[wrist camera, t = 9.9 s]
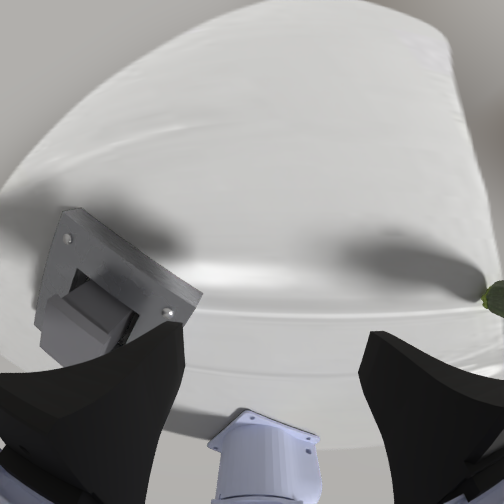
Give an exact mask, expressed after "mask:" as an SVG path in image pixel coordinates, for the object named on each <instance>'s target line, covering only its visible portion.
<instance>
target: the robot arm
mask: <svg viewBox="0 0 504 504" xmlns="http://www.w3.org/2000/svg"><path fill="white" fill-rule="evenodd" d="M184 369H185V356H184V340H183V323H182V322H173V321H166V322H164V323H162V324H160V325H158V326H157V327H155V328H153V329H152V330H150V331H148V332H147V333H145V334H143V335H141V336H140V337H138V338H136V339H135V340H133V341H131V342H129V343H127V344H125V345H123V346H121V347H119V348H117V349H115V350H113V351H111V352H109V353H107V354H105V355H102V356H100V357H97V358H94V359H92V360H89V361H86V362H83V363H79V364H75V365H72V366H68V367H64V368H60V369H54V370H48V371H41V372H31V373H0V437H1V439H2V440H3V441H4V443H5V444H6V446H5V447H4V448H3V450H1V449H0V504H145V499H146V494H147V488H148V483H149V477H150V473H151V468H152V464H153V459H154V455H155V452H156V448H157V444H158V440H159V437H160V434H161V431H162V429H163V426H164V424H165V421H166V419H167V417H168V414H169V412H170V409H171V407H172V405H173V402H174V400H175V397H176V395H177V393H178V390H179V388H180V384H181V381H182V377H183V373H184ZM358 374H359V379H360V383H361V386H362V390H363V393H364V395H365V398H366V400H367V402H368V405H369V407H370V409H371V412H372V414H373V416H374V419H375V421H376V423H377V426H378V428H379V430H380V433H381V435H382V438H383V441H384V445H385V448H386V452H387V456H388V461H389V466H390V471H391V477H392V484H393V493H394V504H504V380H499V379H493V378H488V377H484V376H480V375H476V374H473V373H470V372H467V371H464V370H461V369H458V368H456V367H453V366H451V365H448V364H446V363H444V362H442V361H440V360H438V359H436V358H434V357H432V356H430V355H428V354H426V353H424V352H422V351H421V350H419V349H417V348H415V347H414V346H412V345H410V344H408V343H406V342H405V341H403V340H401V339H399V338H397V337H396V336H394V335H392V334H390V333H387V332H385V331H370V335H369V338H368V342H367V345H366V349H365V352H364V355H363V358H362V362H361V365H360V368H359V371H358ZM251 416H253V417H251ZM319 441H320V437H319V436H316V435H313V434H310V433H307V432H304V431H301V430H298V429H295V428H292V427H290V426H287V425H284V424H281V423H279V422H276V421H274V420H271V419H269V418H266V417H264V416H261V415H259V414H257V413H254V412H252V411H249V410H246V411H244V412H242V413H241V414H240V415H239V416H238V417H237V418H236V419H235V420H234V421H233V422H232V423H230V424H229V425H228V426H227V427H226V428H225V429H224V430H223V431H221V432H220V433H219V434H218V435H217V436H216V437H214V438H213V439H212V440H211V441H210V442H209V443H208V444H207V447H209V448H210V449H213V450H215V451H218V452H220V453H221V459H220V466H219V474H218V481H217V489H216V497H215V499H212V500H211V504H317V502H318V501H319V498H320V496H321V492H322V480H321V474H320V469H319V463H318V458H317V453H316V447H315V444H316V443H318V442H319Z"/></svg>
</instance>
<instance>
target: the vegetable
mask: <svg viewBox="0 0 504 504" xmlns="http://www.w3.org/2000/svg"><path fill="white" fill-rule="evenodd" d="M481 300H482V301H483V304H482V305H483V306H484V307H485V308H486V309H489V310H490V311H491V312H492V313H494V314H496V315H498V316H501V317H503V318H504V280H502V281H497V282H495V283H494V284H493V285H492V286H490V287H489V289H487V292H486V294H485V295H483V296H482V298H481Z"/></svg>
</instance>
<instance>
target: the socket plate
mask: <svg viewBox="0 0 504 504" xmlns="http://www.w3.org/2000/svg"><path fill="white" fill-rule="evenodd" d="M87 276H88V277H89V278H90V279H92V280H93V281H94V282H96V283H97V284H98V285H99V286H101V287H102V288H103V289H105V290H106V291H107V292H109V293H110V294H111V295H113V296H114V297H115V298H117V299H118V300H119V301H121V302H122V303H124V304H125V305H126V306H128V307H129V308H131V309H132V310H133V311H135V312H136V313H138V314H139V315H140V316H139V318H138V320H137V322H136V324H135V326H134V328H133V330H132V332H131V334H130V336H129V338H128V340H127V342H126V344H127V343H129V342H131V341H133V340H135V339H136V338H138V337H140V336H141V335H143V334H145V333H147V332H148V331H150V330H152V329H153V328H155V327H157V326H158V325H160V324H162V323H164V322H166V321H173V322H182V323H183V327H184V325H185V324H186V322H187V321H188V319H189V318H190V316H191V315H192V313H193V312H194V310H195V309H196V307H197V305H198V303H199V301H200V299H201V297H202V295H203V293H202V292H200V291H199V290H197V289H195V288H194V287H192V286H191V285H189V284H188V283H186V282H185V281H183V280H182V279H180V278H179V277H177V276H176V275H174V274H173V273H171V272H170V271H168V270H167V269H165V268H164V267H162V266H161V265H159V264H158V263H156V262H155V261H153V260H152V259H150V258H149V257H148V256H146V255H145V254H143V253H142V252H140V251H139V250H138V249H136V248H135V247H133V246H132V245H130V244H129V243H128V242H126V241H125V240H124V239H122V238H121V237H119V236H118V235H117V234H115V233H114V232H113V231H111V230H110V229H108V228H107V227H106V226H104V225H103V224H102V223H100V222H99V221H98V220H96V219H95V218H94V217H93V216H91V215H90V214H89V213H87V212H86V211H85V210H83V209H82V208H78V209H72V210H67V211H63V212H62V215H61V218H60V220H59V223H58V226H57V229H56V232H55V235H54V239H53V242H52V245H51V248H50V252H49V255H48V259H47V263H46V267H45V271H44V275H43V279H42V283H41V288H40V293H39V298H38V303H37V308H36V314H35V321H34V325H35V326H36V327H37V328H38V329H39V330H40V331H41V332H42V326H43V320H44V314H45V309H46V304H47V299H49V298H50V297H52V296H53V295H55V294H57V295H59V296H60V297H61V298H62V297H64V296H65V295H67V294H68V293H70V292H71V291H73V290H75V289H76V288H78V287H79V286H81V285H82V284H84V283H85V281H86V278H87ZM119 347H121V345H119V344H118V343H117V344H116V345H115V346H114V347H113V349H112V350H111V351H113V350H115V349H117V348H119ZM111 351H110V352H111Z"/></svg>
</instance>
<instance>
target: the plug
mask: <svg viewBox="0 0 504 504" xmlns="http://www.w3.org/2000/svg"><path fill="white" fill-rule="evenodd" d="M134 313H135V311H133V310H132V309H131V308H129V307H128V306H126V305H125V304H124V303H122V302H121V301H119V300H118V299H117V298H115V297H114V296H113V295H111V294H110V293H109V292H107V291H106V290H105V289H103V288H102V287H101V286H99V285H98V284H97V283H96V282H94V281H93V280H92V279H90V280H89V281H87V282H85V283H84V284H82V285H81V286H79V287H78V288H76V289H75V290H73V291H71V292H70V293H68V294H67V295H65V296H64V297H62V298H61V297H60V296H59V295H57V294H55V295H53V296H52V297H50V298H49V299H47V304H46V309H45V314H44V320H43V326H42V332H41V339H40V347H41V348H42V349H43V350H44V351H45V352H46V353H47V354H49V355H50V356H51V357H52V358H53V359H54V360H56V361H57V362H58V363H59V364H60V365H62V366H63V367H68V366H72V365H75V364H79V363H83V362H86V361H89V360H92V359H94V358H97V357H100V356H102V355H105V354H107V353H109V352H110V351H111V350H112V349H113V347H114V346H115V345H116V344H117V343H118V341H119V340H120V339H121V338H122V337H123V335H124V334H125V332H126V330H127V328H128V326H129V324H130V321H131V319H132V317H133V315H134Z"/></svg>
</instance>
